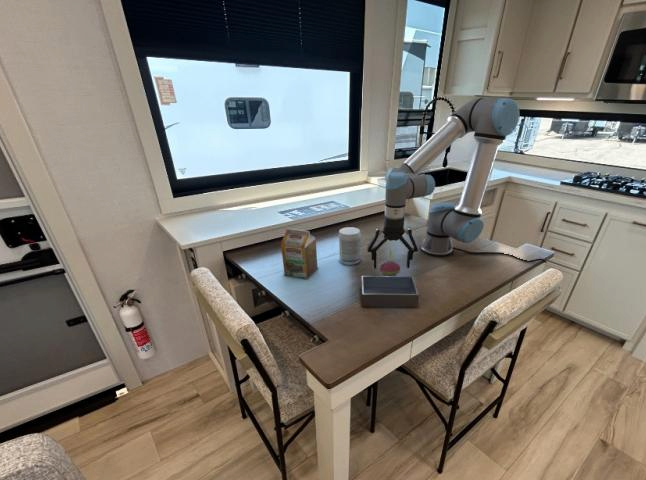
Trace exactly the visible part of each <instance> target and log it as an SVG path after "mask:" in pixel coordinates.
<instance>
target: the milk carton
mask: <svg viewBox="0 0 646 480" xmlns="http://www.w3.org/2000/svg"><path fill="white" fill-rule="evenodd" d="M280 249H281V256H282V257H281V258H282V264H283V273H284V276H288V277H291V278H292V277H293V278H298V279H303V280H308V279H309V278H310V277H311V276H312V275H313V274H314V273H315V271H317V269H318V253H317V238H316V236H314V235H312V234H311V233H310V231H309V230H302V229H294V228H285V233H284V235H283V237H282V240H281V242H280Z"/></svg>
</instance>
